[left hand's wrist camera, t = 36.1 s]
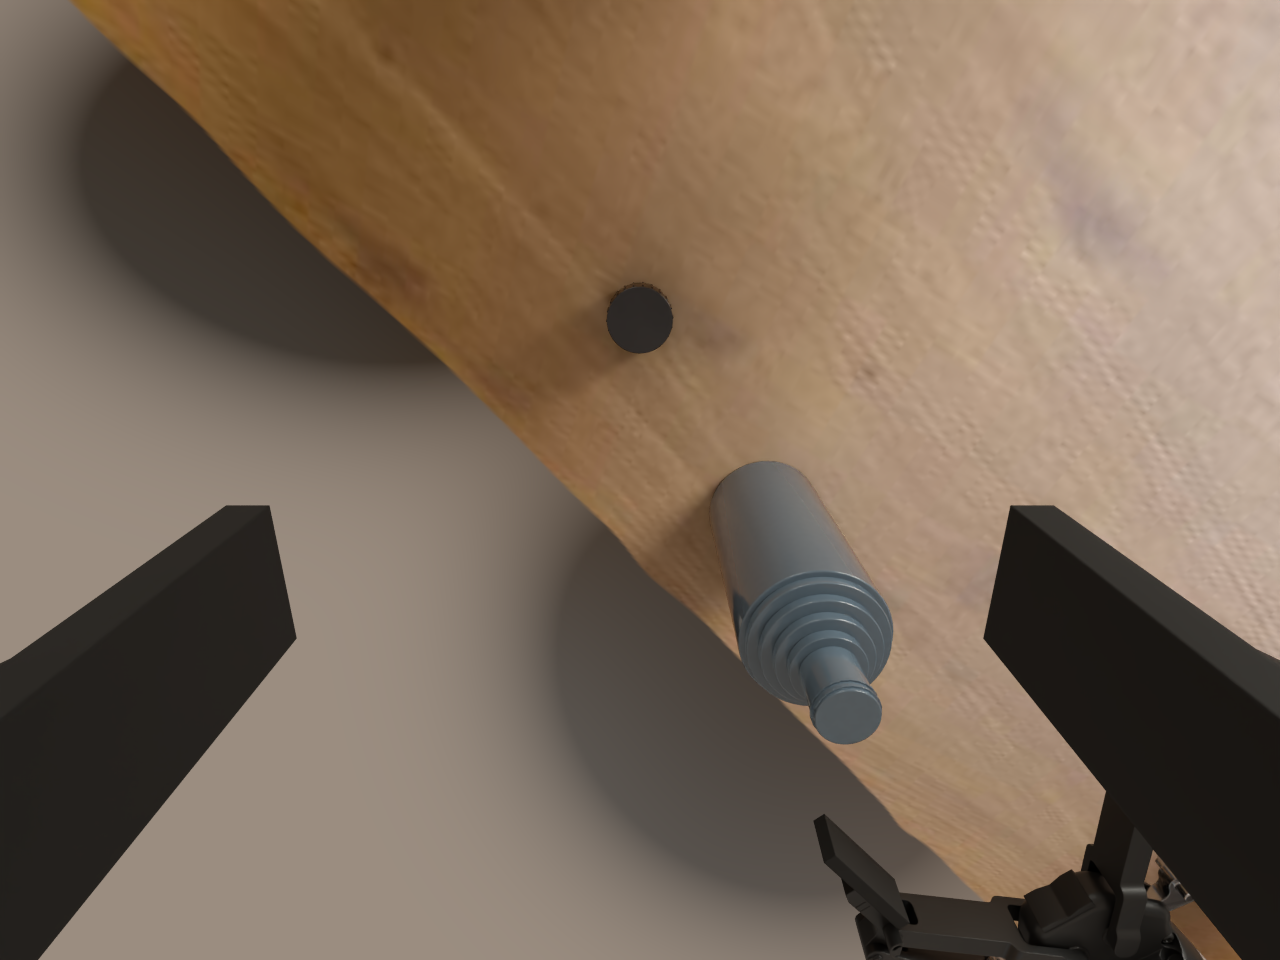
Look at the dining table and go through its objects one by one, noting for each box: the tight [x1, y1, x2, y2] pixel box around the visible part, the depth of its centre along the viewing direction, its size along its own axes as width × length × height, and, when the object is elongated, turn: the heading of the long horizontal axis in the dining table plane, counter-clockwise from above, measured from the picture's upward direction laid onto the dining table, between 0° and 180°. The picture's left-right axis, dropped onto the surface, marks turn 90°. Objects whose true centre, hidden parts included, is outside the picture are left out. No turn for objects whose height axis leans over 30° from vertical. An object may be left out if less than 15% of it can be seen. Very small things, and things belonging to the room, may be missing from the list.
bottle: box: [709, 461, 893, 744], centre depth 39 cm, size 8×8×22 cm
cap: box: [606, 282, 673, 353], centre depth 44 cm, size 4×4×2 cm
